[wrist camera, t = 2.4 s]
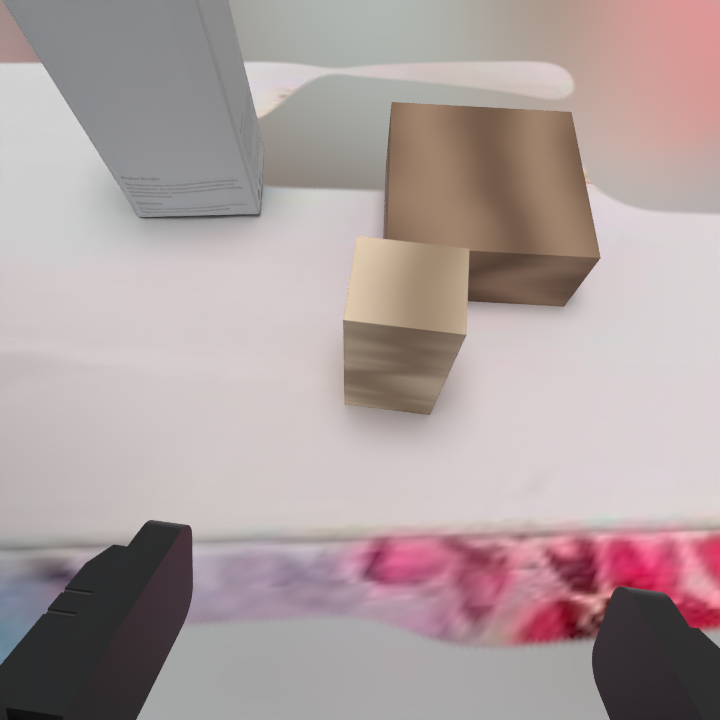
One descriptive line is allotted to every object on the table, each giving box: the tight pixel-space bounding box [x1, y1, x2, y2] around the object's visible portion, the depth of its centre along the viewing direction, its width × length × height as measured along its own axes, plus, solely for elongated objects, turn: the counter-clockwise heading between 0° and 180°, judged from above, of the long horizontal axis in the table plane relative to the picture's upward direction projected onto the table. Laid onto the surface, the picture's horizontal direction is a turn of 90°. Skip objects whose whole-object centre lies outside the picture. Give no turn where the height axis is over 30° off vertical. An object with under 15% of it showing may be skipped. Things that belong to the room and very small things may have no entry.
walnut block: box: [383, 102, 600, 306], centre depth 30 cm, size 11×11×5 cm
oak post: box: [343, 236, 469, 415], centre depth 23 cm, size 5×4×9 cm
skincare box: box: [2, 0, 264, 217], centre depth 26 cm, size 8×6×15 cm
